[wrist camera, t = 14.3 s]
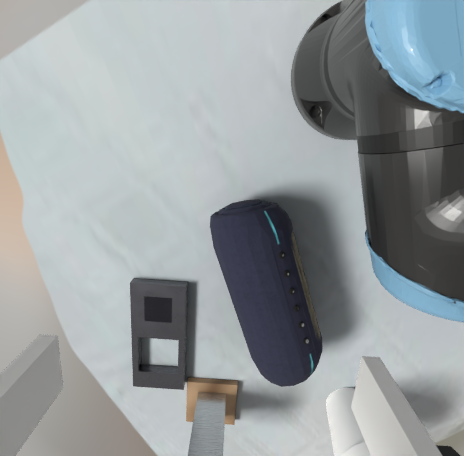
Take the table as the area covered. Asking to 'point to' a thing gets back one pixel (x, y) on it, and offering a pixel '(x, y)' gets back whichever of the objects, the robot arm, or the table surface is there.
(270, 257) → the portable speaker
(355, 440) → the foam cup
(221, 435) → the tall grey prism
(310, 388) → the table surface
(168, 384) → the dark grey slotted board
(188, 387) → the pad
